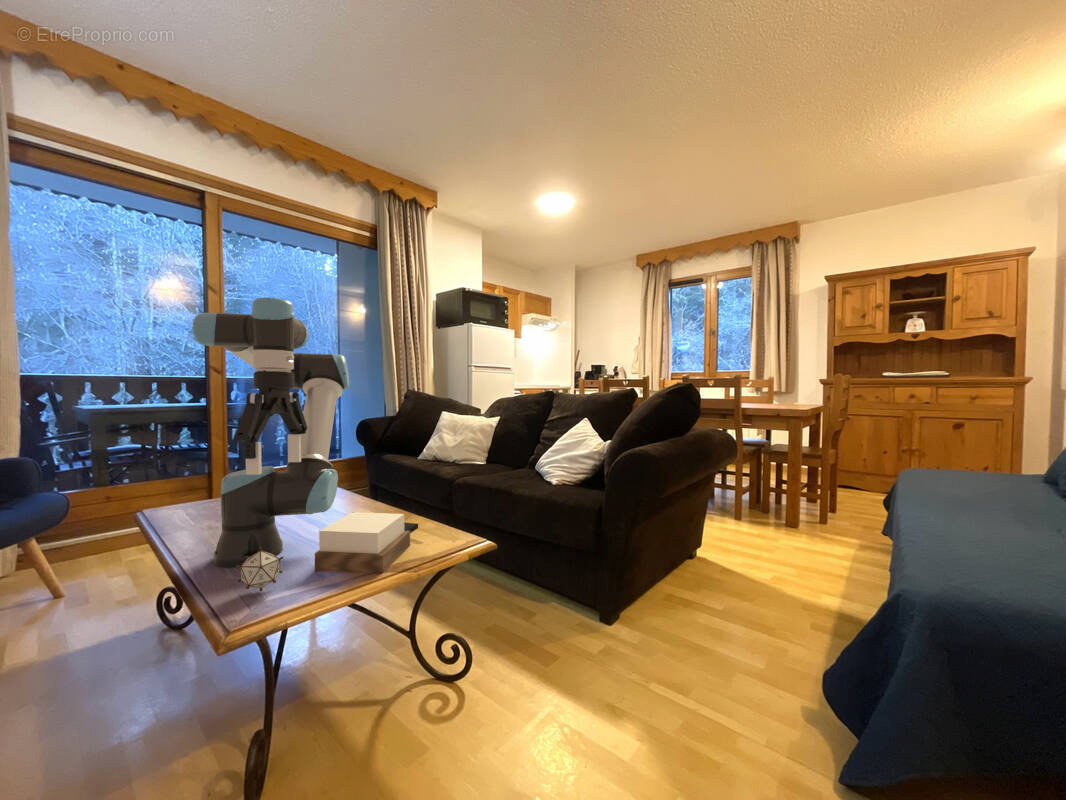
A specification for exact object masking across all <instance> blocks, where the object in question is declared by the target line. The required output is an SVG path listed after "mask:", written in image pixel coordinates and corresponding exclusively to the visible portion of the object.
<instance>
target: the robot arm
mask: <svg viewBox="0 0 1066 800" xmlns="http://www.w3.org/2000/svg"><path fill="white" fill-rule="evenodd" d="M251 310H252V311H251V314H247V313H246V314H245V313H243V314H242V313H227V312H226V313H225V312H200V313H198V314H197V315H196V316H195V317H194V319H193V323H192V332H193V336H194V339H195V340H196V342H198V344H200V345H202V346H208V347H222V348H224V349H225V350H226V351H229V353H231V354H232V355H234V356H236V357H237V358H239V359H240V360H242V361H243V362H245V363H246V364H248V365H250V366H251V367H252V368H253V369H255V371H254V373H253V387H254V389H258V393H257V392H256V393H254V392H252V393H251V392H249V393H247V394H246V401H245V403H246V404H245V406H244V409H243V413H242V415H241V419H240V421H239V423H238V428H237V430H236V433H235V436H234V440H235V441H237V442H238V443H242V444H243V445H244V446H243V447H244V458H245V469H242V470H237V471H234V472H231V473H227V475H225V476H224V477H223V478H222V480H221V487H220V488H221V489H220V493H219V494H220V509H221V510H220V511H221V513H220V515H221V534H220V536H219V538H218V541H217V546H216V548H215V551H214V553H213V565H214V566H215V567H218V568H223V569H224V568H225V569H227V568H228V569H231V568H237V567H236V566H238V565H240V566H241V565H242V564H243V563H244V562H245V561H246V560H247V559H246V556H248V557H251V556H252V555H254V554H255V553H257V552H258V551H259V548H260V547H261V548H262V549H261V550H262V551H265V552H268V553H271V552H272V551H274V554H273V555H275V556H276V557H278V556H279V555H280V554H282V552H283V551H284V547H283V546H284V545H283V544H284V543H283V542H284V541H283V540H282V539H281V537H280V533H279V530H278V528H277V525H276V517H280V516H281V517H282V516H296V515H313V514H319V513H325V512H327V511H328V510H329V509H330V508H331V507H332V506H333V504H334V502H335V499H336V496H337V491H338V481H339V475H338V471H337V470H336V469H334V467H333V464H332V463H331V462H330V461H329V457H330V456H329V455H330V448H331V442H332V433H333V426H334V420H335V412H336V406H337V399H339V398H340V397H341V396H342V395H343V393H344V391H343V390H348V389H349V388H350V377H349V368H348V362H347V359H346V357H345V356H344V355H343V354H337V353H335V354H334V353H331V352H330V354H329V353H328V354H327V353H326V354H325V353H301V352H300V353H299V352H295V351H294V350H296V349H300V348H302V347H304V346H305V345H306V344H307V342H308V341H309V338H310V332H309V329H308V326H307V325H305V324H304V323H303V321H301V320H300V319H299V318H296V317H294V316H295V313H294V306H293V303H292V302H290V301H289V300H286V299H282V298H275V297H257V298H255V299H254V300H253V302H252V309H251ZM293 389H294V390H302V391H303V393H304V394H305V395H306V396H305V401H304V407H303V409H302V407H301V403H300V394H299V392H290V390H293ZM275 414H276V415H279V416H280V418H281V419H282V420H281V421H283V423H284V425H285V426H286V428H287V430H288V431H289V434H287V463H286V469H285V471H276V468H275V467H274V466H273V465H263V466H262V442H261V441H259V439H260V437H261V435H262V433H263V431H264V430H265V428H266V426H267V424H268V422H269V420H270V418H271V417H273V416H274V415H275Z"/></svg>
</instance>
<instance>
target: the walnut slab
mask: <svg viewBox="0 0 1066 800" xmlns="http://www.w3.org/2000/svg"><path fill="white" fill-rule="evenodd" d="M410 546H411V533H410V531H404V533H403V534H401V535H400V536H399V537H398V538H397V539H395V540H394V541H393V542H392V543H390V544H389V545H388V546H387V547H386V548H384V549H383V550H382V551H381V552H380V553H378V554H373V553H350V552H328V551H319V550H317V551H316V552H314V572H324V573H325V572H326V573H327V572H328V573H330V572H332V573H333V572H336V573H339V572H340V573H374V572H378V573H382V574H383V573H385V571H386V570H388V569H389V568H390V566H392V565H393V564H394V562H395V561H397V559H398V558H399V557H401V556H402V554H403V553H405V551H406V550H407V549H409V547H410ZM378 573H377V574H378Z"/></svg>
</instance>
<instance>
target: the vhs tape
mask: <svg viewBox="0 0 1066 800" xmlns="http://www.w3.org/2000/svg"><path fill="white" fill-rule="evenodd" d="M418 528H419V523H415V522H404V531H410V534H411V533H413V532H414V531H416V530H417V529H418Z"/></svg>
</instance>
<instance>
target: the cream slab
mask: <svg viewBox="0 0 1066 800" xmlns="http://www.w3.org/2000/svg"><path fill="white" fill-rule="evenodd" d="M404 523H405V513H385V512H384V513H383V512H360V511H359V512H351V513H349V514H347V515H345V516H343V517H341V518H340V519H337V520H336V521H334V522H332V523H330V524H329V525H327V526H325V527H323V528H322V529H320V530H318V534H319V535H318V540H319V542H318V543H319V544H318V545H319V550H318V551H328V552H350V553H373V554H378V553H380V552H381V551H382V550H383V549H384V548H386V547H387V546H388V545H389V544H390V543H392V542H393V541H394V540H395V539H397V538H398V537H399V536H400V535H401V534H403V533H404Z"/></svg>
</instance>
